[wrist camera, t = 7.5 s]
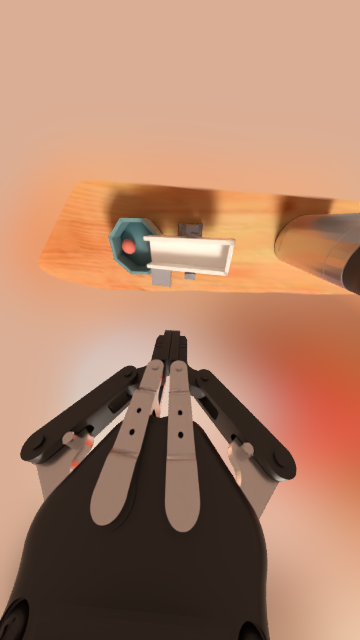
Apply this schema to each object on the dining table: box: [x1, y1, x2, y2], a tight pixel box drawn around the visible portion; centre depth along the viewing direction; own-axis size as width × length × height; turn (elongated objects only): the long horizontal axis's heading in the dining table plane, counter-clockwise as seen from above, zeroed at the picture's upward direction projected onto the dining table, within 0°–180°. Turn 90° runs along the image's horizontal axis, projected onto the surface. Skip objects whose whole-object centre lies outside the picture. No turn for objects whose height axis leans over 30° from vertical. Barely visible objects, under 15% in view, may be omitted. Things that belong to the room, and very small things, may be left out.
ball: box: [122, 239, 136, 254], centre depth 31 cm, size 3×3×3 cm
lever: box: [143, 235, 235, 287], centre depth 27 cm, size 15×9×6 cm, turn 88°
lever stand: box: [179, 223, 203, 279], centre depth 28 cm, size 5×9×10 cm, turn 179°
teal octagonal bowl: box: [109, 218, 164, 274], centre depth 30 cm, size 10×10×6 cm
